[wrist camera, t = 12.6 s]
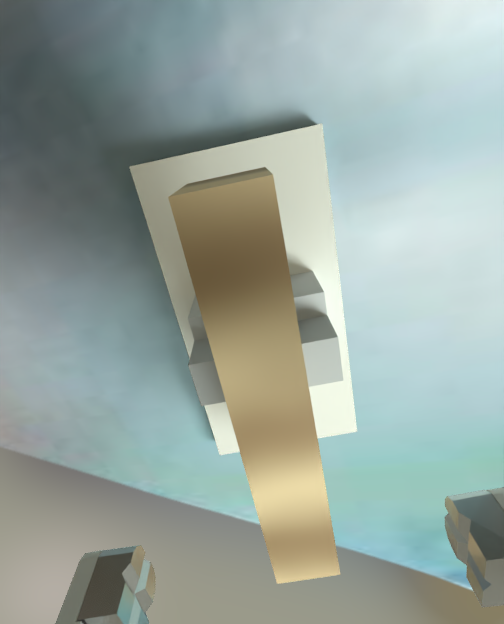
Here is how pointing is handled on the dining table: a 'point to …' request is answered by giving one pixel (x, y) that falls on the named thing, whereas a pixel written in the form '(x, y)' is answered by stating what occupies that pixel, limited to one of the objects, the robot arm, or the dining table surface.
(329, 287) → the fulcrum stand
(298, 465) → the pine bar
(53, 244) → the dining table surface
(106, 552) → the robot arm
